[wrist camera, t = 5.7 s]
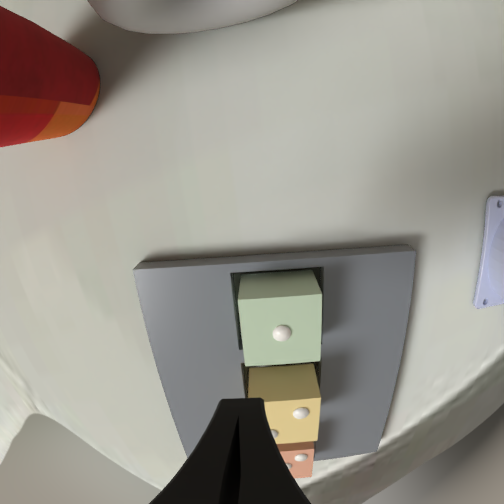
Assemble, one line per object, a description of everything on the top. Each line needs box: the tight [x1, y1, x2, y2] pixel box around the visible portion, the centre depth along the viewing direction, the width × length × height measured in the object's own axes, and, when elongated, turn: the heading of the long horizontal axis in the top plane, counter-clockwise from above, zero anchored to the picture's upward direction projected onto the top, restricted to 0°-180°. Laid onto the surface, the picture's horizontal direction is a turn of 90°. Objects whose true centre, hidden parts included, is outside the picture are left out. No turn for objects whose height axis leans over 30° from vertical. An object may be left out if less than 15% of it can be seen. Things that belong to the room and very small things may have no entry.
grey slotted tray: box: [133, 245, 416, 461], centre depth 20 cm, size 16×18×1 cm
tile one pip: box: [238, 270, 322, 366], centre depth 17 cm, size 4×4×3 cm
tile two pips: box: [248, 363, 321, 444], centre depth 18 cm, size 4×4×3 cm
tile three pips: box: [277, 441, 314, 478], centre depth 21 cm, size 4×4×3 cm
